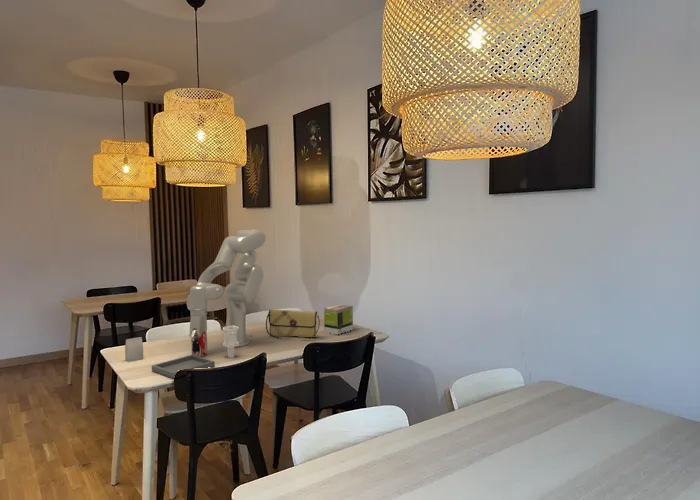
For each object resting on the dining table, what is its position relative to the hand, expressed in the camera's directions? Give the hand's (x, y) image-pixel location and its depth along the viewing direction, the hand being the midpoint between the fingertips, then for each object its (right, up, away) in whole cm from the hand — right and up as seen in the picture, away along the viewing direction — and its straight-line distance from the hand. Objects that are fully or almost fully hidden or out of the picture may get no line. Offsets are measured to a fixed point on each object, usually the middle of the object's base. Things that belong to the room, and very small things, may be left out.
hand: (199, 348), depth 220 cm
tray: (-1, -5, -19) cm, 20 cm away
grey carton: (-28, -4, -7) cm, 29 cm away
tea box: (+65, -1, +48) cm, 81 cm away
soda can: (0, -3, 0) cm, 3 cm away
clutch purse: (+40, -1, +33) cm, 52 cm away
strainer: (+15, -4, -1) cm, 16 cm away
